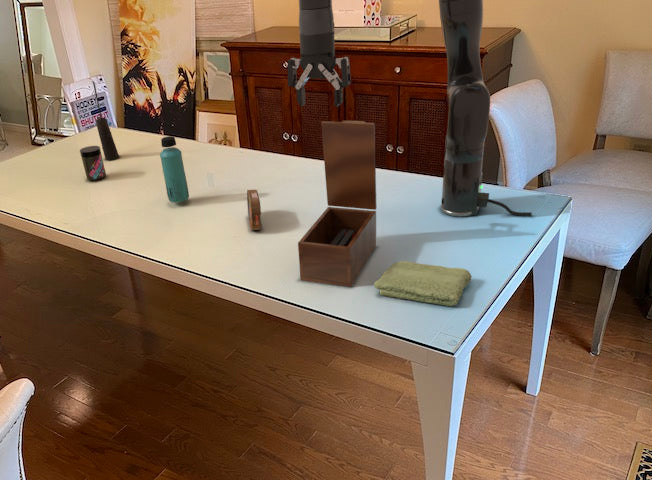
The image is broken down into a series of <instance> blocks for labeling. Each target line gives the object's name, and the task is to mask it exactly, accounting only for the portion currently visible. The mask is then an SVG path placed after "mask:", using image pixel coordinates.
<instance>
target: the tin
mask: <svg viewBox="0 0 652 480" xmlns="http://www.w3.org/2000/svg"><path fill="white" fill-rule="evenodd" d="M258 192H259V191H258V189H247V190H246V201H247V202H246V203H247V216H248V222H249V227H250V231H259V230H261V229H262V222H261V221H262V220H261V214H262V208H261V207H262V206H261V201H260V200H261V199H260V197H259V193H258Z"/></svg>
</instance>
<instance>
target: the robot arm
mask: <svg viewBox="0 0 652 480" xmlns="http://www.w3.org/2000/svg"><path fill="white" fill-rule="evenodd" d="M438 6H439V7H438V8H439V19H440V26H441V32H442V39H443V43H444V48H445V52H446V61H447V84H446V89H447V90H446V102H447V106H448V114H447V115H448V116H447V118H448V119H447V129H446V130H447V131H446V135H445V139H444V140H445V141H444V158H443V173H442V190H441V198H440V199H441V200H440V201H441V202H440V211H441V212H442V213H443V214H445V215H448V216H451V217H469V216H477V214H478V212H479V208H487V207H488V204H489V203H490V204H492V205H495V206H500V207H502V208H504V209H505V211H506V212H508V214H511V215H514V216H521V217H525V216H526V217H527V216H529V217H532V214H533V213H532V212H527V211H526V212H524V211H523V212H520V211H514V210H512V209H511V208H510V207H509V206H508V205H507V204H504V203H503V202H500V201H497V200H494V199H490V192H482V189H483V188H484V186H483V174H484V173H483V163H484V162H483V161H484V150H485V141H486V137H487V135H488V129H489V128H488V127H489V121H490V120H489V119H490V111H491V95H490V91H489V89H488V88H487V86H486V84H485V81H484V76H483V71H482V64H481V55H480V54H481V53H480V52H481V51H480V48H481V38H482V32H483V22H484V0H438ZM298 32H299V34H298V35H299V48H300V49H299V50H300V58H297V57H294V56H293V57H291V58H289V59H288V60H287V85H288V87H290V88H291V87H292V88H294V89H295V91H296V102H297V104H299V107H304V106H305V105H306V87H304V86H305V85H306V83H307V82H308V80H309V79H310V80H315V79H319V80H324V79H326V80H327V81H328V82H329V83H331V85H332V86H333V88H334V89H333V97H334V99H333V101H334V107H336V108H337V107H340V106H341V104H342V103H343V101H344V92H343V89H344V88H347V87H349V85H350V84H351V83H352V77H351V64H350V57H349V56H343V57H339V58H338V57H336V54H335V53H336V48H335V18H334V11H333V0H298ZM299 66H300V67H301V69H302V70H303V72H302V74H301V75H300V77H299V79H297V78H298V77H297V76H298V75H297V74H298V73H297V71H298V70H297V69H298V68H299ZM336 66H338V69H340V70H341V78H340V76H339V74H338V73H337V71H336V70H335V67H336Z"/></svg>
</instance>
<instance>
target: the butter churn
mask: <svg viewBox="0 0 652 480" xmlns="http://www.w3.org/2000/svg"><path fill="white" fill-rule="evenodd" d="M92 84H93V89H94V94H95V99H96V103H97V109H98V113H99V116H97V117H96V120H95V123H96V128H97V132H98V137H99V140H100V144H101V149H102V151H103V155H104V160H105V161H108V162H109V161H114V160H118V159H119V158H120V155H119V152H118V149H117V147H116V143H115V140H114V137H113V134H112V131H111V128H110V125H109V122H108V120H107V118H106V117H103V116H102V113H101V108H100V103H99V98H98V97H99V96H98V93H97V87H96V83H95V81H92Z"/></svg>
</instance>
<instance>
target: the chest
mask: <svg viewBox="0 0 652 480" xmlns="http://www.w3.org/2000/svg"><path fill="white" fill-rule="evenodd" d="M341 229H346V230H347V231H349V230H354V231H355V236H354V238H353V239H352V241H351V242H350V244H349V245H348V246H338V245H330V244H331V243H332V241H333V240H334V239H335V237H336V236H337V235H338V233H339V232H340V231H341ZM376 248H377V210H371V209H359V208H348V207H337V206H327V207H326V209H325V210H324V211H323V212H322V214H320V216H319V217H318V218H317V219H316V221H315V222H314V223H313V225H311V227H310V228H309V229H308V230H307V231H306V232H305V234H304V235H303V236H302V237H301V238H300V240H299V241H298V242H297V250H298V262H299V263H298V265H299V276H300V277H299V278H300V281H303V282H310V283H311V282H312V283H318V284H324V285H325V284H326V285H333V286H339V287H346V288H352V286H353V285H354V283H355V282H356V280H357V278H358V277H359V275H360V274H361V272H362V271H363V269H364V267H365V265H366V264H367V262H368V260H369V259H370V257H371V256H372V254H373V252H374V251H375V249H376Z"/></svg>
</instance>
